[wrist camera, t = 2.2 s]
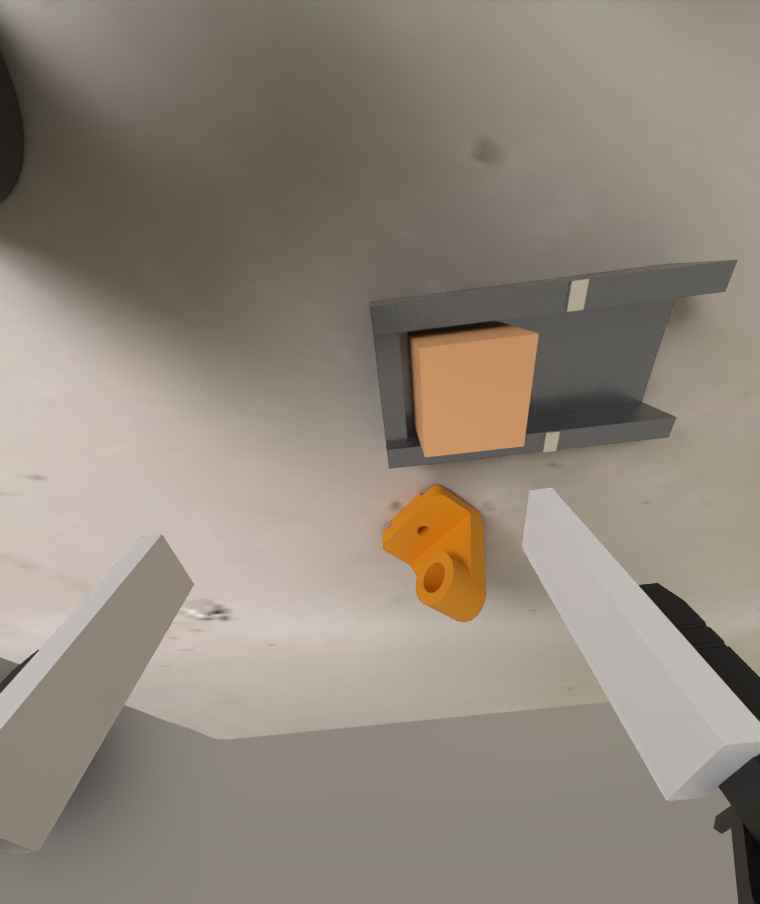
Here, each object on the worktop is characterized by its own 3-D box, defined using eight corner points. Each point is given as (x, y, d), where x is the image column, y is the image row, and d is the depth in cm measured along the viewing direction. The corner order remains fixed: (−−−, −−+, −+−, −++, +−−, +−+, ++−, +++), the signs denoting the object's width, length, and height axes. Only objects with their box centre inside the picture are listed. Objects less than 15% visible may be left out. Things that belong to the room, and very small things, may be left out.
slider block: (413, 422, 31) (424, 457, 25) (408, 333, 27) (419, 348, 21) (493, 413, 31) (523, 446, 25) (499, 321, 27) (539, 333, 20)
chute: (386, 442, 34) (389, 469, 29) (370, 302, 27) (370, 306, 22) (625, 414, 33) (670, 438, 28) (670, 263, 26) (740, 259, 21)
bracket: (434, 478, 36) (460, 557, 26) (476, 507, 39) (515, 590, 28) (378, 532, 40) (382, 619, 30) (419, 555, 43) (435, 644, 32)
